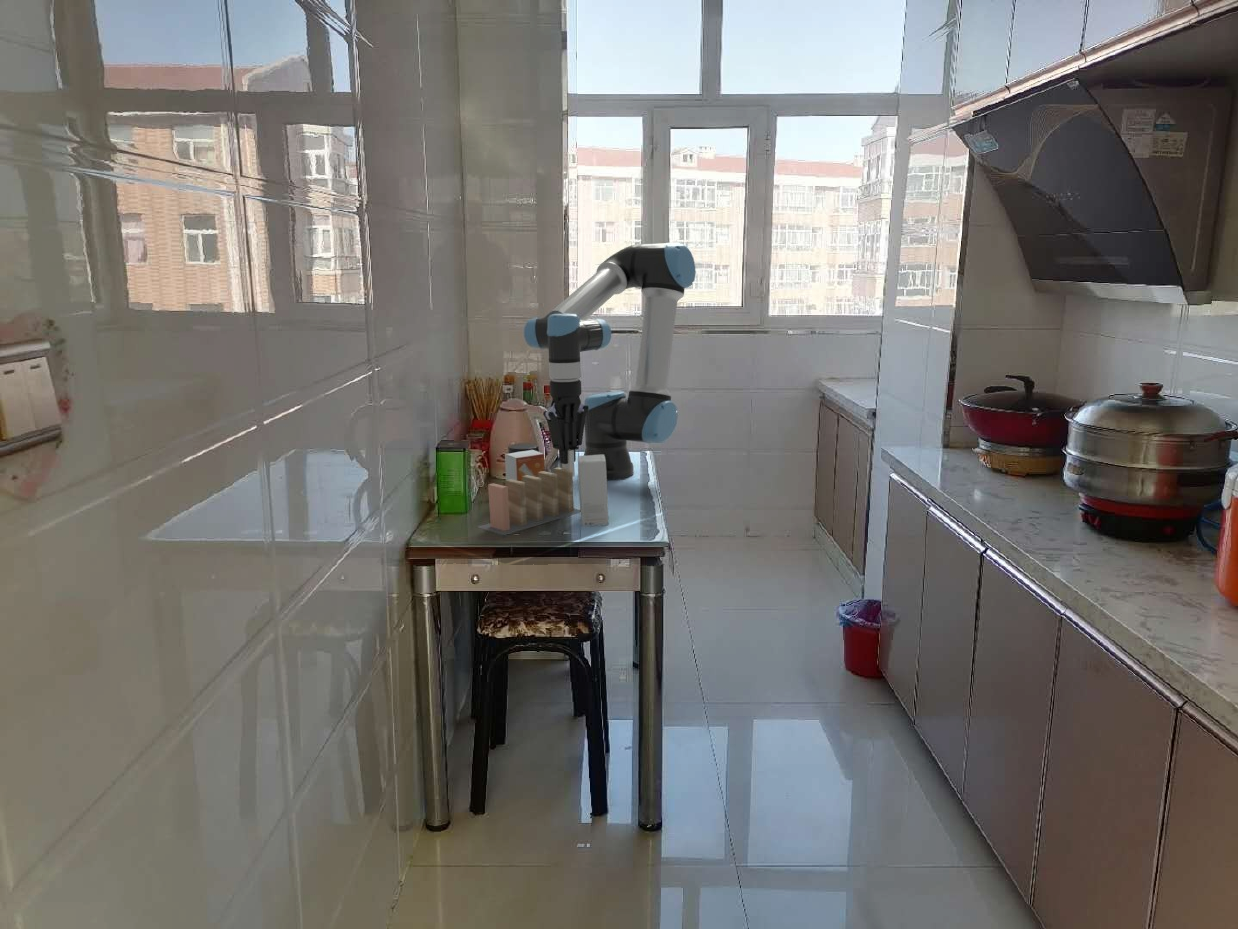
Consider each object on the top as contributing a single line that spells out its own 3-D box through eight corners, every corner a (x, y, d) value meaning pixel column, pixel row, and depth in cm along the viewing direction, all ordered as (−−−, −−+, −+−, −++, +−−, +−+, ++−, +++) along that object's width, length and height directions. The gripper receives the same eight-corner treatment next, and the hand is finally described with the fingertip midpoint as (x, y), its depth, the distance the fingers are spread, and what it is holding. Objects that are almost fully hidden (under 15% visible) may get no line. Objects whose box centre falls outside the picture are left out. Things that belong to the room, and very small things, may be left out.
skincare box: (609, 527, 213) (606, 461, 209) (580, 528, 213) (577, 462, 209) (607, 517, 221) (605, 453, 218) (579, 518, 221) (577, 454, 217)
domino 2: (512, 520, 218) (510, 479, 216) (526, 524, 215) (524, 482, 213) (507, 521, 217) (505, 480, 215) (521, 525, 214) (519, 483, 212)
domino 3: (529, 515, 222) (527, 475, 220) (543, 519, 219) (541, 478, 216) (523, 517, 221) (521, 476, 219) (537, 520, 217) (535, 479, 215)
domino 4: (544, 511, 225) (542, 471, 223) (558, 514, 222) (556, 474, 220) (539, 512, 224) (537, 472, 222) (553, 516, 221) (551, 475, 219)
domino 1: (496, 525, 215) (493, 483, 213) (509, 529, 212) (507, 486, 209) (490, 526, 214) (488, 484, 212) (504, 530, 210) (502, 488, 208)
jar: (547, 490, 248) (545, 446, 245) (521, 495, 243) (518, 450, 240) (529, 484, 255) (527, 441, 252) (504, 489, 250) (501, 445, 247)
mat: (556, 506, 232) (556, 504, 231) (584, 513, 225) (584, 510, 225) (476, 529, 214) (476, 526, 214) (504, 537, 207) (504, 535, 207)
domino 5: (559, 506, 229) (558, 467, 227) (573, 510, 226) (572, 470, 223) (555, 508, 228) (553, 468, 226) (569, 511, 224) (567, 471, 222)
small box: (518, 509, 230) (515, 457, 227) (506, 503, 235) (503, 453, 232) (546, 503, 235) (544, 453, 232) (534, 498, 240) (532, 449, 237)
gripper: (574, 375, 228) (577, 469, 233) (534, 381, 219) (538, 478, 224) (595, 377, 223) (598, 473, 228) (555, 383, 214) (559, 483, 219)
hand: (568, 475), depth 226 cm, fingers closed
